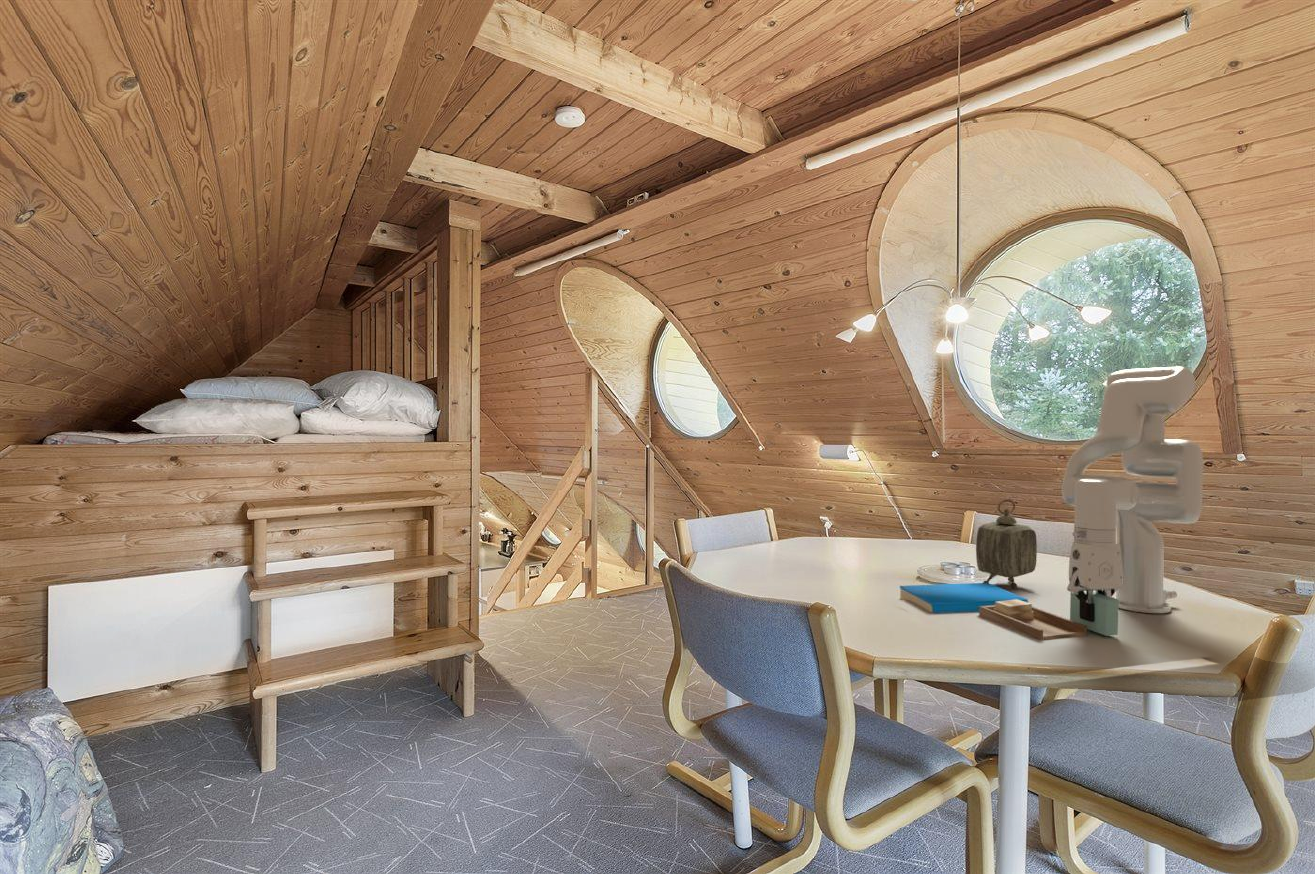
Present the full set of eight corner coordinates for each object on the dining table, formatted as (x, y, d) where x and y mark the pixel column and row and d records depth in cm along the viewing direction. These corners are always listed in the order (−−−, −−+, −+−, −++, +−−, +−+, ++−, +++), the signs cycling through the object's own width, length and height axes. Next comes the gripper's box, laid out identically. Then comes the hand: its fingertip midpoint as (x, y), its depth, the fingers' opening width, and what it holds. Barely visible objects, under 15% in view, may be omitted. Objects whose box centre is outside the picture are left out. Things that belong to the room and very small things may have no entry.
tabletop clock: (1009, 580, 190) (1009, 496, 189) (1039, 587, 182) (1039, 499, 181) (975, 586, 184) (976, 499, 183) (1004, 593, 175) (1005, 502, 175)
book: (898, 585, 171) (986, 581, 174) (899, 601, 171) (987, 596, 174) (933, 603, 154) (1029, 598, 157) (933, 621, 154) (1030, 615, 157)
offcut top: (1016, 606, 153) (1016, 599, 153) (1031, 611, 149) (1031, 603, 149) (995, 609, 151) (995, 601, 151) (1009, 614, 147) (1009, 606, 147)
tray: (1021, 615, 155) (1022, 602, 155) (1086, 640, 138) (1086, 625, 138) (979, 619, 153) (979, 606, 153) (1039, 645, 135) (1039, 630, 135)
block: (1117, 634, 136) (1118, 599, 136) (1106, 635, 135) (1106, 600, 135) (1080, 621, 145) (1081, 588, 145) (1069, 622, 144) (1070, 589, 144)
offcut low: (1018, 613, 153) (1019, 606, 153) (1033, 619, 149) (1033, 611, 149) (993, 616, 152) (993, 608, 152) (1008, 621, 147) (1008, 614, 147)
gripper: (1078, 540, 134) (1077, 627, 134) (1141, 537, 138) (1140, 622, 138) (1049, 534, 141) (1048, 617, 142) (1109, 531, 145) (1108, 612, 145)
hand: (1093, 618), depth 140 cm, fingers closed on block, 3 cm apart
